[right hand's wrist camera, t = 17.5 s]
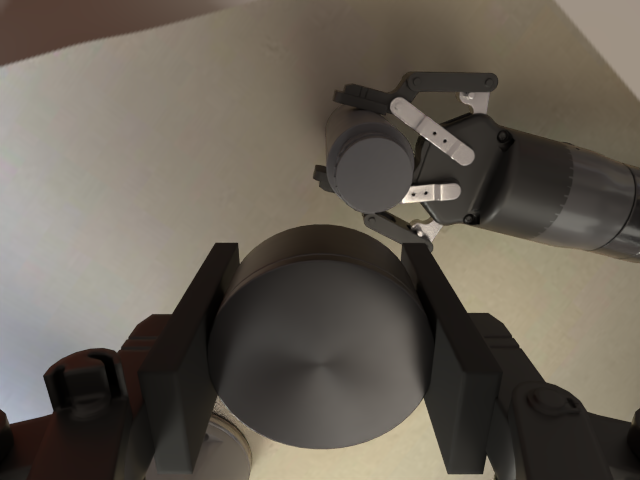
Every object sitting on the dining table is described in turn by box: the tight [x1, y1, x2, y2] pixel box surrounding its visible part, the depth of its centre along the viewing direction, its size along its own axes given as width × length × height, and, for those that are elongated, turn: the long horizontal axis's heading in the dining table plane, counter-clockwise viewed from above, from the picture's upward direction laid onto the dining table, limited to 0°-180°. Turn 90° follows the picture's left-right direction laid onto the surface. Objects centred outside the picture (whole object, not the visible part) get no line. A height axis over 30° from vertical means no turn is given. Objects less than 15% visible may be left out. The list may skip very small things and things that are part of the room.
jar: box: [326, 104, 414, 214], centre depth 29 cm, size 5×5×16 cm
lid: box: [207, 225, 435, 449], centre depth 11 cm, size 6×6×2 cm
